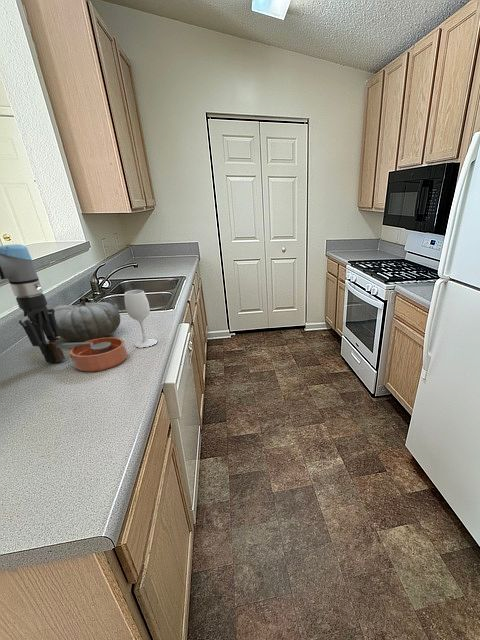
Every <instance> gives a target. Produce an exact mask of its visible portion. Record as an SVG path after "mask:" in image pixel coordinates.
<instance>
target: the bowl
mask: <svg viewBox="0 0 480 640" xmlns="http://www.w3.org/2000/svg"><path fill="white" fill-rule="evenodd" d="M85 342H93V344H94V345H95V344H97V343H101V342H110V343H111V344H112V347H113V350H112V351H109V352H106V353H102V354H97V355H93V353H92V351H91V347H73V348H70V350H69V355H70V358H71V361H72V364H73V367H74V368H75V369H76V370H78V371H82V372H86V373H87V372H91V373H92V372H101V371H105V369H106V370H109V369H112V368H115V367H117V366H119V365H121V364H122V363H123V362H124V361H125V360H126V359H127V357H128V352H127V348H126V344H125V341H124V339H123V338H120V337H113V336H112V337H111V336H110V337H107V336H105V337H103V338H98V339H93V340H89V341H85ZM114 366H115V367H114Z"/></svg>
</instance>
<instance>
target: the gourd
mask: <svg viewBox="0 0 480 640" xmlns="http://www.w3.org/2000/svg"><path fill="white" fill-rule="evenodd" d="M52 309H54V316H55V320H56V324H57V328H58V332H59V337H60V338H62V339H65V340H67V341H70V342H85V341H89V340H93V339H98V338H106V337H107V336H110V335H111V334H113V333H115V332H116V331H117V330H118V328H119V326H120V324H121V313H120V311H119V309H118V308H117V306H115V305H114V304H112V303H111V302H107V301H97V302H95V301H91V302H87V301H86V297H82V298H81V301H80V303H77V304H76V305H74V304H73V305H72V304H59V305H57V306H55V307H53V308H52Z"/></svg>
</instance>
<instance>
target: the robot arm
mask: <svg viewBox="0 0 480 640" xmlns="http://www.w3.org/2000/svg"><path fill="white" fill-rule="evenodd" d="M6 279H7V280H8V282H9V285H10V288H11V291H12V294H13V296H15V297H16V298H15V300H16V303H17V306H18V308H19V309H21V311H23V319H20V320H18V323H19V325H20V326H21V327H22V328H23V330H24V332H25V334H26V336H27V338H28V339H29V341H30V343H31V345H32V347H39V349H40V352H41V354H42V355H43V357H44V360H45V363H56V362H55V359H54V356H53V354H52V351H51V348H50V346H49V344H47V343H46V341H59V339H60V338H59V337H60V336H59V332H58V328H57V324H56V320H55V316H54V309H53V308H48V307H47V305H48V301H47V298H46V295H45V294H44V293H43V292H44V291H43V287H42V285H41V283H40V280H39V276H38V273H37V270H36V267H35V264H34V260H33V259H32V257H31V255H30V252H29V248H27V246H26V245H24V244H18V243H17V244H5V245H3V244H2V245H0V281H2V280H6ZM46 339H47V340H46Z"/></svg>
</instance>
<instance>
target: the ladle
mask: <svg viewBox="0 0 480 640" xmlns="http://www.w3.org/2000/svg"><path fill="white" fill-rule="evenodd" d="M46 343H47V344H49V346H50V348H51V351H52V354H53V356H54V359H55V362H54V363H58V362H59V363H61V362H63V361H64V360H66V357H65V355H64V352H63V350H62V349H69V348H70V349H71V348H73V347H91V351H92V353H93V355H97V354H102V353H106V352H109V351H112V350H113V347H112V344H111V343H110V342H101V343H97V344H95V345H94V344H93V342H80V341H77V342H59V340H56V341H49V340H46Z"/></svg>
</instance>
